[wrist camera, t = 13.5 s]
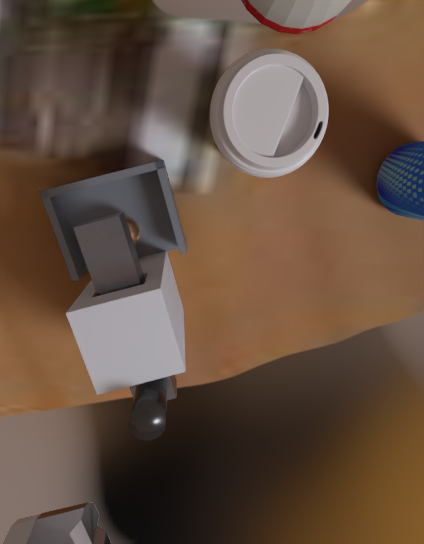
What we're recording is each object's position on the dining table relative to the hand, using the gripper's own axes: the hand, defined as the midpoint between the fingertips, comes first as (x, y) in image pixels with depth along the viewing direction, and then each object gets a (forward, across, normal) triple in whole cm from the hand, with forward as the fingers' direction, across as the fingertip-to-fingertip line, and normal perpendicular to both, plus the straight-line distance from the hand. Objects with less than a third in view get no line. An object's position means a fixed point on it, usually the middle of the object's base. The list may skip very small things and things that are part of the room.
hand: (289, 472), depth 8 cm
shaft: (+29, +9, +6) cm, 31 cm away
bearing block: (+38, +8, +7) cm, 40 cm away
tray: (+38, +9, -2) cm, 40 cm away
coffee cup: (+39, -7, -8) cm, 40 cm away
